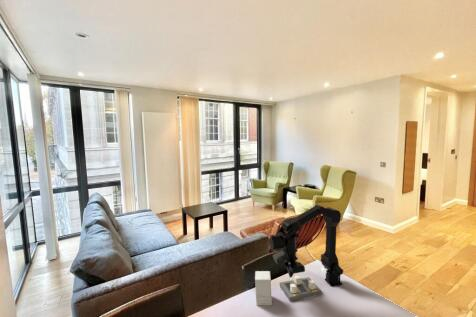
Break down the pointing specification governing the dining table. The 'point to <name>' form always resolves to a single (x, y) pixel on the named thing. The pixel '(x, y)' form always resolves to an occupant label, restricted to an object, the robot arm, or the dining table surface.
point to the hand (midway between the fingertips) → (290, 276)
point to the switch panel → (300, 289)
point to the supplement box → (263, 288)
